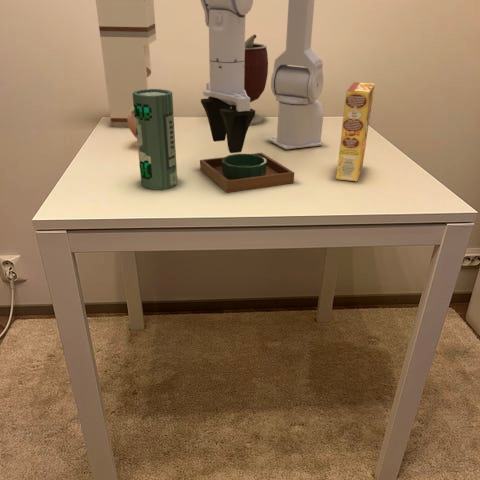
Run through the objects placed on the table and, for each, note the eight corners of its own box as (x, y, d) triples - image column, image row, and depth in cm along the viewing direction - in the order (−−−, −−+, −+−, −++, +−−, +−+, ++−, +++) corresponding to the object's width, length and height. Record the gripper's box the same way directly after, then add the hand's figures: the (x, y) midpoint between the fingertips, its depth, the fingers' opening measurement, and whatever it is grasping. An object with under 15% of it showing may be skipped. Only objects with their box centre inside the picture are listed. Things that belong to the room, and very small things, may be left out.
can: (145, 177, 91) (137, 88, 82) (178, 178, 90) (173, 89, 82) (139, 189, 86) (129, 95, 77) (174, 190, 85) (168, 96, 77)
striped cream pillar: (155, 127, 120) (141, -52, 100) (111, 126, 120) (89, -53, 100) (161, 116, 130) (150, -49, 110) (121, 116, 130) (102, -50, 110)
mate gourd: (205, 116, 131) (203, 29, 120) (252, 112, 136) (254, 28, 124) (226, 129, 120) (226, 35, 108) (277, 125, 124) (282, 33, 113)
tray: (261, 162, 99) (261, 152, 98) (293, 182, 89) (294, 172, 88) (200, 169, 95) (199, 159, 94) (226, 192, 85) (226, 181, 84)
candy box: (357, 182, 90) (371, 91, 81) (334, 179, 91) (346, 89, 82) (362, 168, 97) (376, 83, 88) (341, 165, 98) (352, 81, 89)
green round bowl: (251, 164, 97) (252, 151, 95) (274, 176, 91) (274, 163, 89) (215, 170, 93) (214, 157, 92) (235, 183, 88) (235, 169, 86)
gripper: (189, 55, 84) (192, 137, 92) (220, 67, 73) (221, 160, 81) (227, 54, 86) (227, 134, 94) (263, 65, 75) (260, 155, 83)
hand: (226, 146), depth 87 cm, fingers open, 7 cm apart
